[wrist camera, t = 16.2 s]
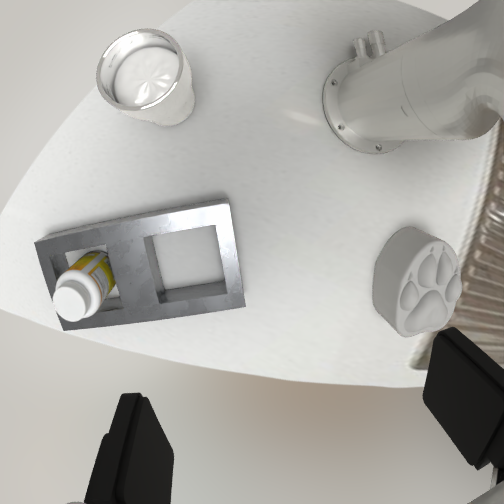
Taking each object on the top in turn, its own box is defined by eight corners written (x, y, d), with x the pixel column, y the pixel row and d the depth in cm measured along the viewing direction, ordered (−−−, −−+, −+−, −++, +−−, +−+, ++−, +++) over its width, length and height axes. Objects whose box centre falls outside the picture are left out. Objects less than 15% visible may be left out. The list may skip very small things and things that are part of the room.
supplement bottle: (75, 276, 38) (40, 311, 28) (89, 241, 37) (53, 268, 27) (110, 298, 39) (83, 337, 29) (126, 263, 38) (99, 297, 28)
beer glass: (169, 142, 35) (136, 133, 20) (128, 105, 33) (76, 78, 18) (211, 99, 34) (207, 62, 19) (169, 62, 32) (142, 10, 17)
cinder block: (48, 234, 36) (34, 242, 32) (227, 198, 37) (228, 202, 33) (74, 316, 39) (63, 330, 36) (243, 292, 41) (245, 306, 37)
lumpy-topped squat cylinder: (369, 316, 44) (396, 347, 36) (376, 228, 40) (410, 246, 32) (425, 306, 45) (456, 332, 37) (436, 225, 41) (474, 240, 33)
